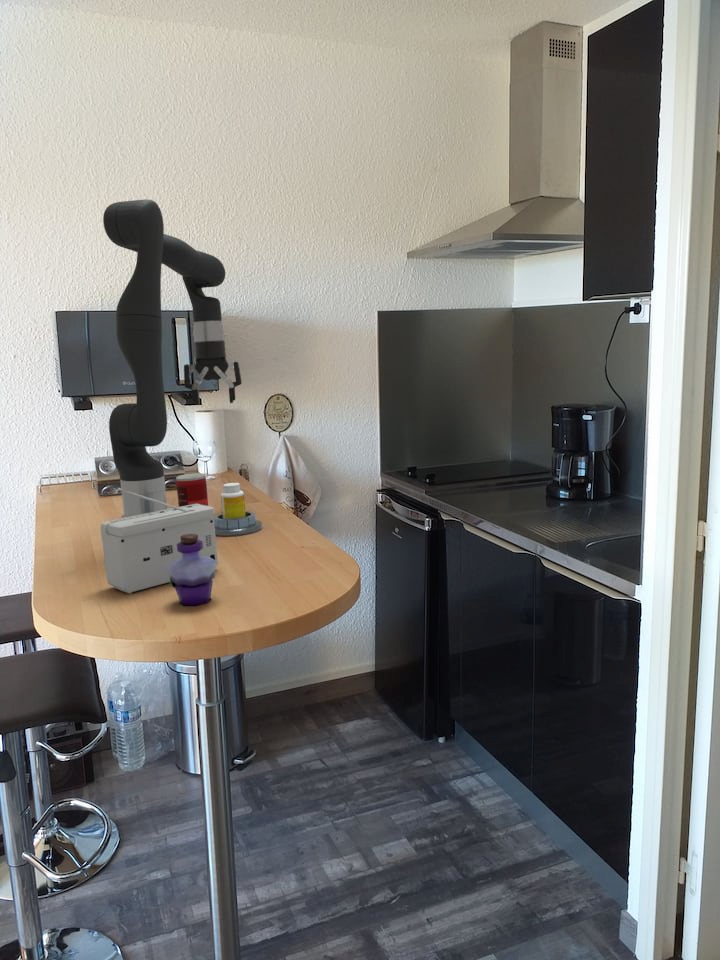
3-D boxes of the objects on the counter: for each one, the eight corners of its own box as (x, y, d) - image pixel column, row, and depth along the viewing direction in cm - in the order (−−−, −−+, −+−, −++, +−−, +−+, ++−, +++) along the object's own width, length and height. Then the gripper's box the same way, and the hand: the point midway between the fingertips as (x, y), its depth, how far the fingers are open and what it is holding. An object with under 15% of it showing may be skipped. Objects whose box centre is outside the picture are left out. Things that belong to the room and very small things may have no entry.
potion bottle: (170, 596, 136) (163, 532, 134) (219, 590, 138) (213, 527, 136) (169, 612, 128) (162, 543, 126) (221, 605, 130) (215, 538, 128)
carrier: (242, 538, 176) (241, 523, 176) (197, 534, 182) (196, 520, 181) (272, 525, 188) (271, 510, 187) (229, 522, 193) (228, 508, 193)
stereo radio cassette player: (202, 563, 157) (194, 469, 153) (223, 571, 151) (214, 472, 147) (105, 588, 143) (93, 485, 140) (124, 597, 137) (112, 490, 134)
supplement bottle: (250, 525, 184) (246, 483, 182) (229, 529, 181) (225, 487, 179) (240, 521, 189) (237, 481, 187) (220, 525, 186) (216, 484, 184)
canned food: (213, 512, 207) (210, 473, 205) (201, 519, 199) (197, 478, 197) (188, 512, 208) (184, 473, 207) (174, 519, 201) (170, 478, 199)
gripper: (178, 341, 187) (184, 406, 190) (236, 338, 188) (241, 403, 191) (183, 341, 195) (189, 404, 197) (238, 338, 196) (243, 401, 198)
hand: (215, 403), depth 194 cm, fingers open, 8 cm apart
